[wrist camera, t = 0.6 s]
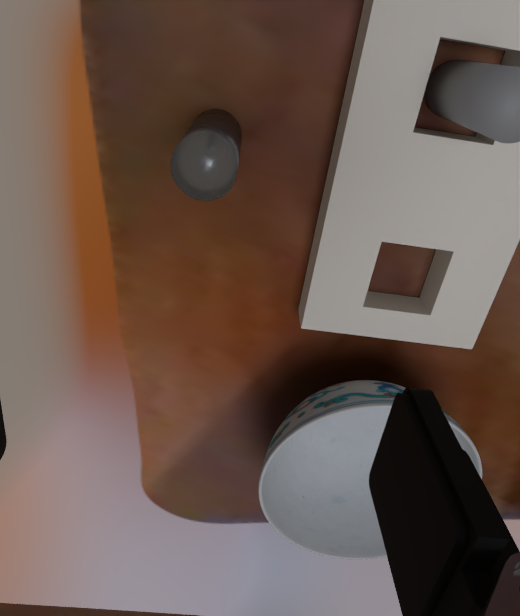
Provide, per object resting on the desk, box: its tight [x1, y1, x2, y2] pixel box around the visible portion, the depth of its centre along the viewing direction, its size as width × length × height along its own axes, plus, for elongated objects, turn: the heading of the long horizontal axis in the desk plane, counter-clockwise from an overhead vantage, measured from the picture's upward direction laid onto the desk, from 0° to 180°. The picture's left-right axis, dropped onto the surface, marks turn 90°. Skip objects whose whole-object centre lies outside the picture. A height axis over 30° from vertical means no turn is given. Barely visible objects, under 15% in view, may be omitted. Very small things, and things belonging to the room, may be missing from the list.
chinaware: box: [259, 380, 482, 559], centre depth 36 cm, size 15×15×8 cm
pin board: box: [298, 0, 520, 349], centre depth 27 cm, size 20×12×8 cm, turn 172°
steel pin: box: [171, 109, 242, 201], centre depth 25 cm, size 3×3×8 cm
